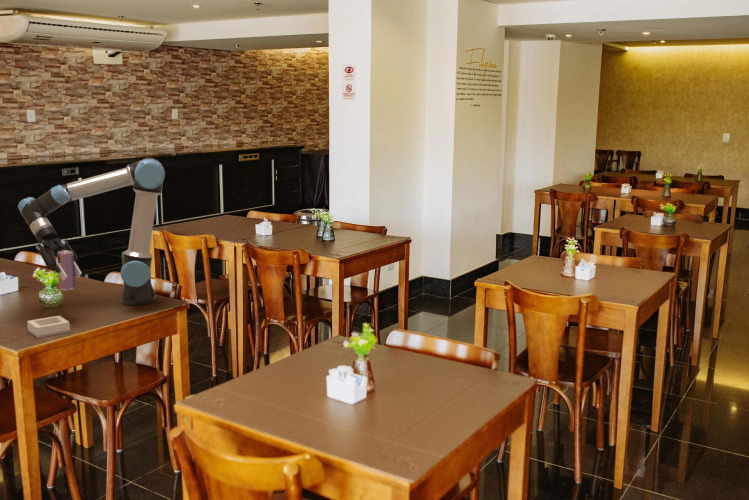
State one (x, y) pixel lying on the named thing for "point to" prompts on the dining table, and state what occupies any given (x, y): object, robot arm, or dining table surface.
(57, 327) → the holder
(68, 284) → the beverage can
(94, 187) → the robot arm
